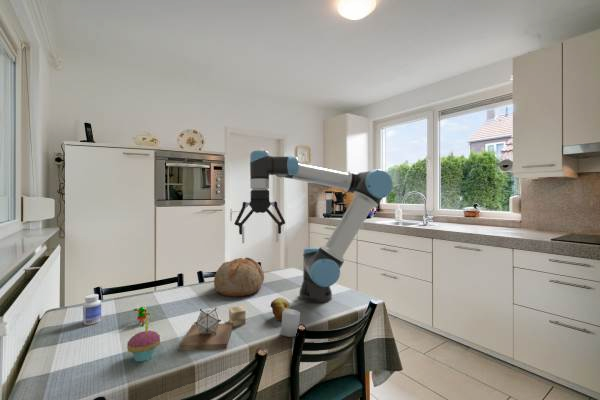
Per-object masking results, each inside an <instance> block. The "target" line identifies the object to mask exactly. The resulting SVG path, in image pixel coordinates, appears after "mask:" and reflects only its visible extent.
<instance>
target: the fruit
mask: <svg viewBox="0 0 600 400" xmlns="http://www.w3.org/2000/svg"><path fill="white" fill-rule="evenodd" d="M270 307H271V309H272V314H273V316H274V318H275V319H276V320H277V321H282V312H283V311H284V310H287V309H291V305H290V302H289V300H288V299H286V298H285V297H277V298H275V299H273V300H272V301H271V302H270Z"/></svg>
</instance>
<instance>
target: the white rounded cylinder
mask: <svg viewBox="0 0 600 400" xmlns="http://www.w3.org/2000/svg"><path fill="white" fill-rule="evenodd" d="M300 315H301V313H300V311H299V310H296V309H291V308H290V309H287V310H284V311H283V312H282V320H281V329H280V334H281V335H282V336H284V337H287V338H293V337H297V336H296V333H297V327H298V326H299V327H300V319H301V318H300Z"/></svg>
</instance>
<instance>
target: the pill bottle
mask: <svg viewBox="0 0 600 400" xmlns="http://www.w3.org/2000/svg"><path fill="white" fill-rule="evenodd" d="M84 301H85V302H84V303H83V305H82V312H83V313H82V314H83V315H82V317H83V320H82V321H83V325H85V326H88V325H89V326H90V325H95V324H98V323H100V322H101V321H102V301H101V299H99V294H98V293H93V294H88V295H86V296H85V297H84Z"/></svg>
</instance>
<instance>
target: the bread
mask: <svg viewBox="0 0 600 400" xmlns="http://www.w3.org/2000/svg"><path fill="white" fill-rule="evenodd" d="M264 280H265V274H264V270H263V268H262V266H261V265H260V264H259V263H258V262H257V260H254V259H253V258H250V257H245V258H242V257H239V258H238V257H237V258H235V259H232V260H231V261H225V262H223V263H222V264H221V265H220V267H219V268H217V270H216V272H215V275H214V279H213V287H214V289H215V290H216V292H218V293H219V294H221V295H222V296H225V297H234V298H235V297H236V298H237V297H238V298H239V297H244V296H250V295H252V294H255V293H257V292H258V291H259V290H260V289H261V287H262V285H263V284H264Z"/></svg>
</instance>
